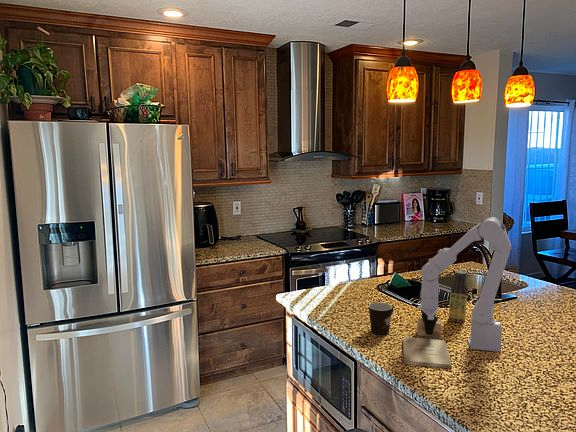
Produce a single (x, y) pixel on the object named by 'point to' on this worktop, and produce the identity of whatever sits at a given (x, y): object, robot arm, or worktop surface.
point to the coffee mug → (380, 318)
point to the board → (426, 352)
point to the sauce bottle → (458, 298)
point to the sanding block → (422, 332)
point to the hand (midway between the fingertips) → (428, 331)
